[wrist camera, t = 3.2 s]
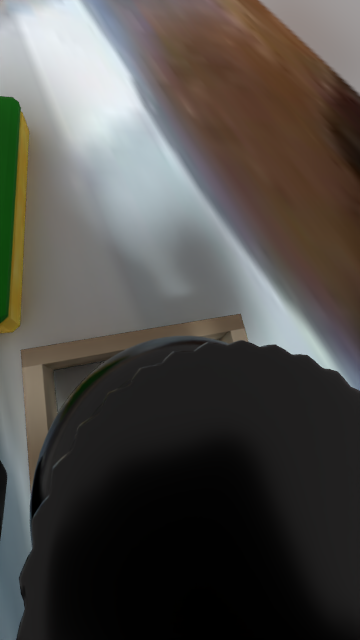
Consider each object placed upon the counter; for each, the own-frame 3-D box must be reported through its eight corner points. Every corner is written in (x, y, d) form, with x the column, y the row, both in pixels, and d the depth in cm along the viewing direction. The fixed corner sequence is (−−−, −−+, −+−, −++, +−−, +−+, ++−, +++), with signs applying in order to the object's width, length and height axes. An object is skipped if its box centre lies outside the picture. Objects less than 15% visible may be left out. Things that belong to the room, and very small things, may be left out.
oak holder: (282, 526, 14) (306, 545, 12) (55, 609, 12) (41, 648, 10) (227, 324, 17) (240, 313, 15) (35, 357, 14) (21, 350, 12)
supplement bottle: (241, 407, 15) (551, 405, 4) (190, 546, 13) (583, 1428, 2) (128, 350, 15) (129, 187, 4) (57, 481, 13) (-437, 993, 2)
